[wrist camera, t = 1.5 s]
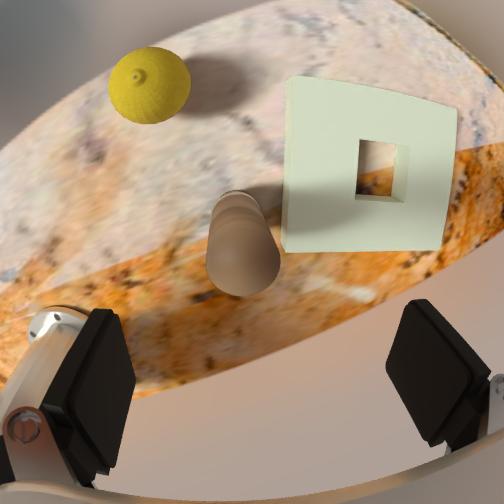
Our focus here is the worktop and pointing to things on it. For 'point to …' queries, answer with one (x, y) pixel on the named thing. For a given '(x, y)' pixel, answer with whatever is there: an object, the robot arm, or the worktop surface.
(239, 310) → the worktop surface
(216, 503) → the robot arm
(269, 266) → the peg
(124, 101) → the lemon
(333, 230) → the board
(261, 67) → the worktop surface
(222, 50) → the worktop surface
